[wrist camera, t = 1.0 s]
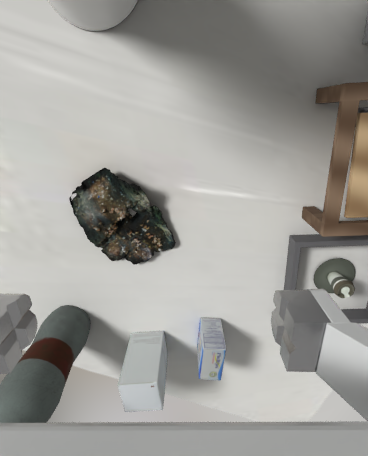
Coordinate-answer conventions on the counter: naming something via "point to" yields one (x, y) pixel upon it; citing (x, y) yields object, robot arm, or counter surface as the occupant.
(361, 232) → the trapdoor frame
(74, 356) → the bottle
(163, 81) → the counter surface
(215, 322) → the medicine box
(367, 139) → the trapdoor
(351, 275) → the grey knobbed disc
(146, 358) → the supplement box
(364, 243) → the cup mat rim
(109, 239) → the decorative rock
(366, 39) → the stone block
